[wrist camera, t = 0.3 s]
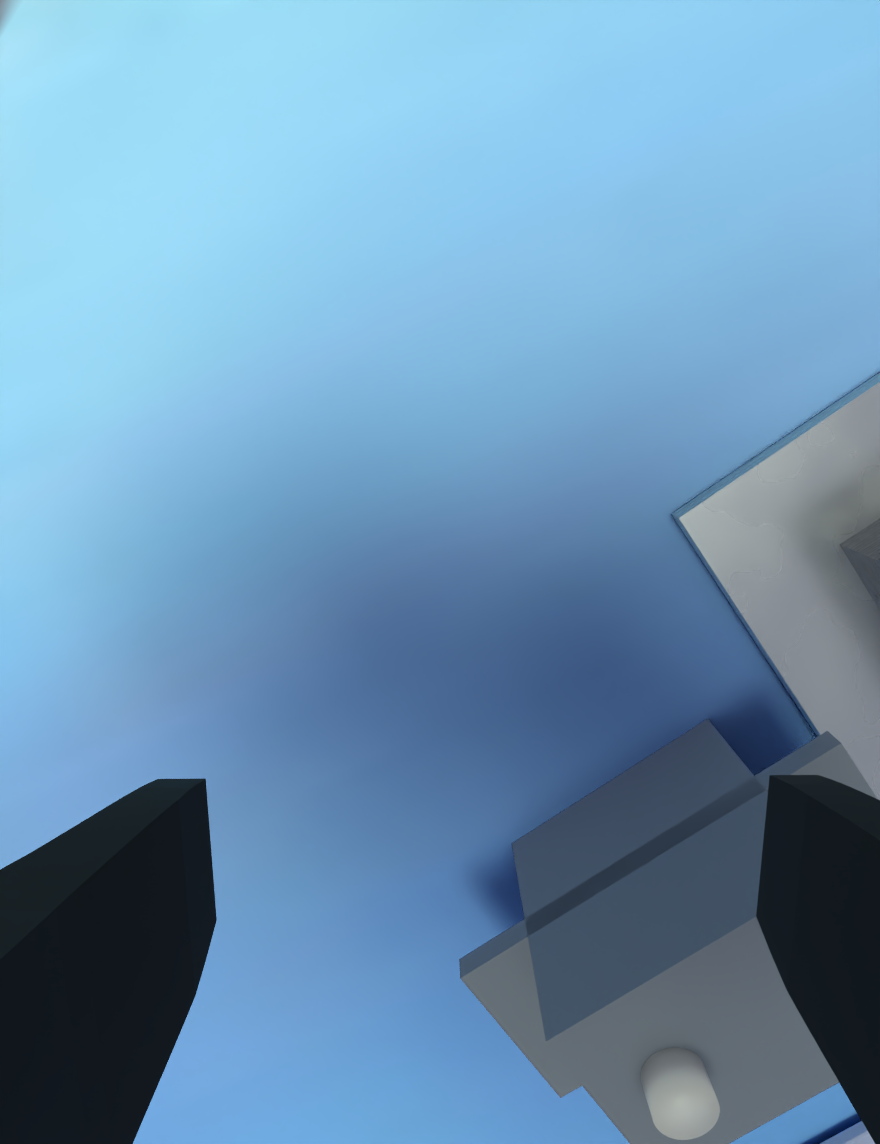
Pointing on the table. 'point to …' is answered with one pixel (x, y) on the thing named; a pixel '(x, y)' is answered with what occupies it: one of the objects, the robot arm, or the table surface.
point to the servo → (659, 948)
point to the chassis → (808, 565)
